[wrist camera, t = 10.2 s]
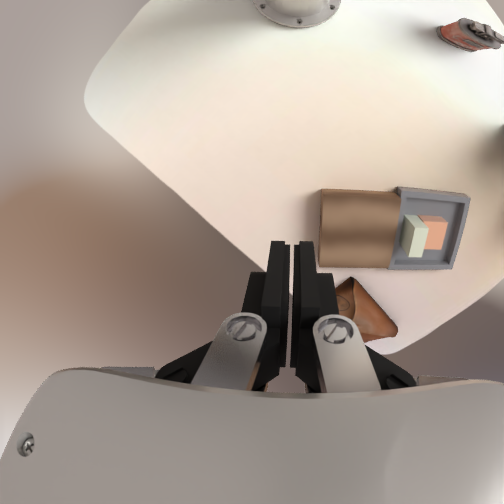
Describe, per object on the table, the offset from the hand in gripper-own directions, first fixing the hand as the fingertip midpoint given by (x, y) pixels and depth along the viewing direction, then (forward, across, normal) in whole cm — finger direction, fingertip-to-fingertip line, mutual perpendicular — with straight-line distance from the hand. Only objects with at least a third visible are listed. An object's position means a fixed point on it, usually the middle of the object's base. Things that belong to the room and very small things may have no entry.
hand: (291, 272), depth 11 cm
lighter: (+31, -28, -22) cm, 47 cm away
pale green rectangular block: (+28, -18, +12) cm, 36 cm away
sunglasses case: (+32, -14, +31) cm, 47 cm away
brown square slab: (+31, -10, +12) cm, 35 cm away
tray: (+31, -24, +12) cm, 41 cm away
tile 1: (+28, -24, +12) cm, 39 cm away
